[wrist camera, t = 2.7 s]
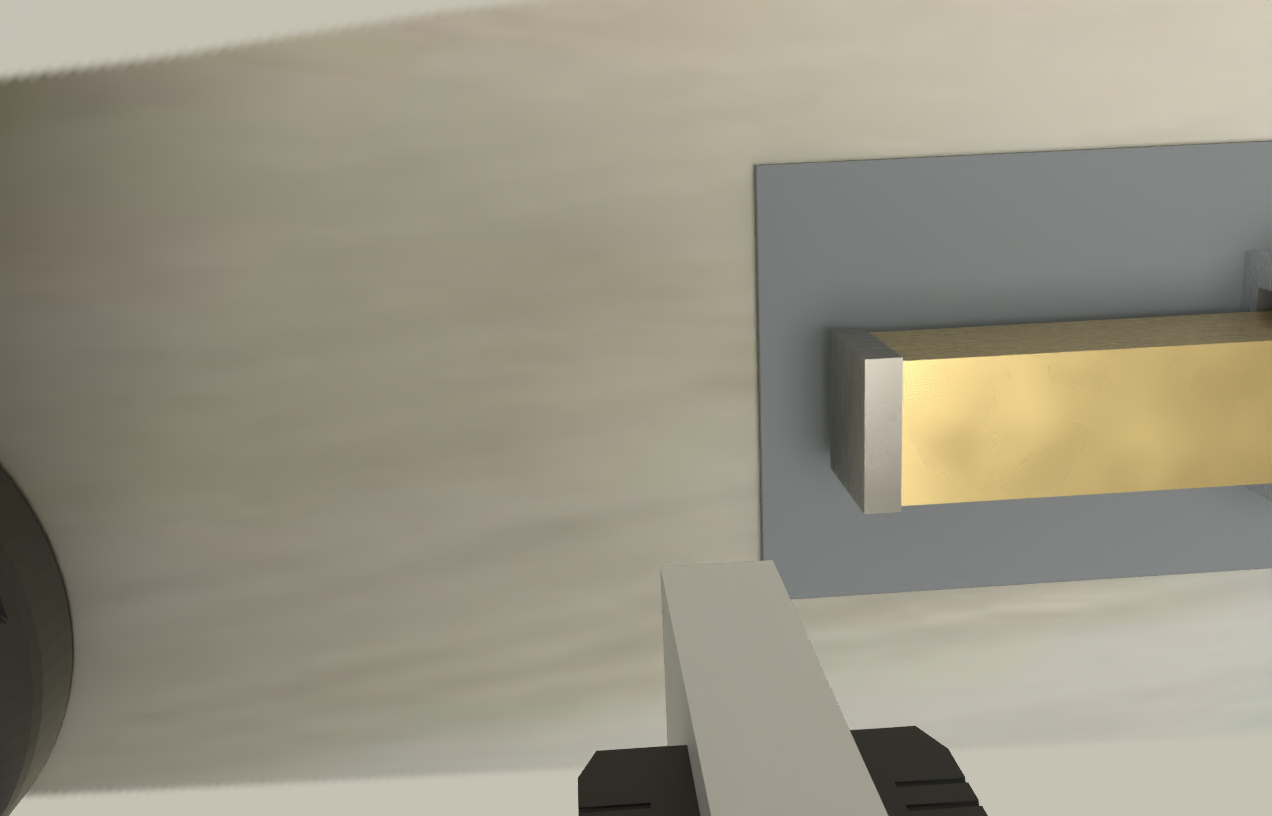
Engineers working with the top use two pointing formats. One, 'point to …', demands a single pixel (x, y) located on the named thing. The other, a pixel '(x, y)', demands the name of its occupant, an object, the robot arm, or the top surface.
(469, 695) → the top surface
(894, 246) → the mat
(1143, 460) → the rod
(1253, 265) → the guide sleeve
